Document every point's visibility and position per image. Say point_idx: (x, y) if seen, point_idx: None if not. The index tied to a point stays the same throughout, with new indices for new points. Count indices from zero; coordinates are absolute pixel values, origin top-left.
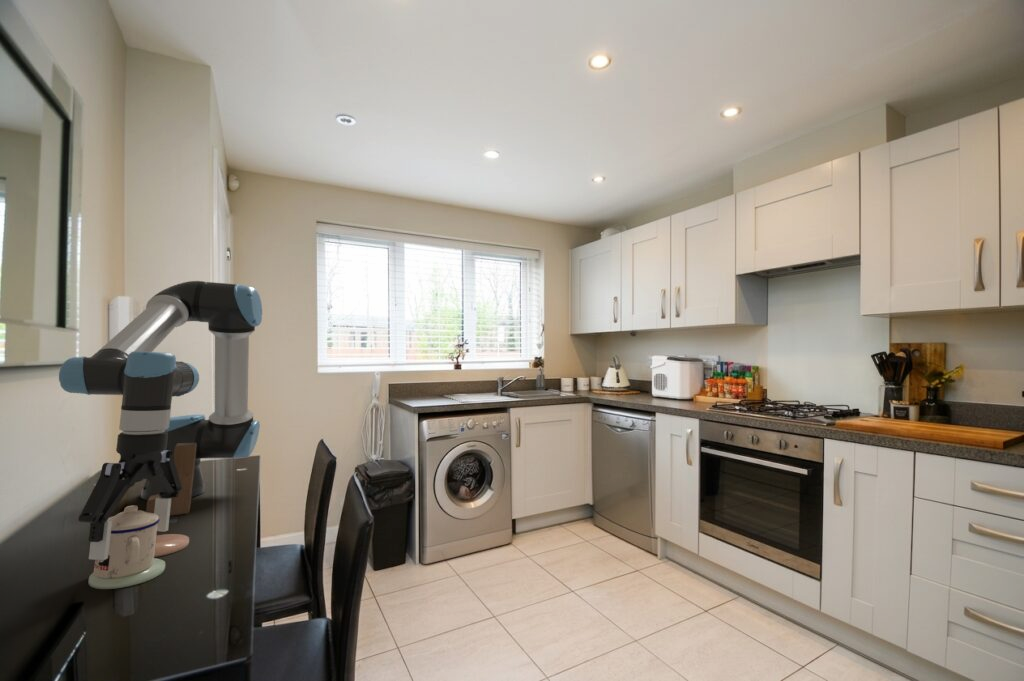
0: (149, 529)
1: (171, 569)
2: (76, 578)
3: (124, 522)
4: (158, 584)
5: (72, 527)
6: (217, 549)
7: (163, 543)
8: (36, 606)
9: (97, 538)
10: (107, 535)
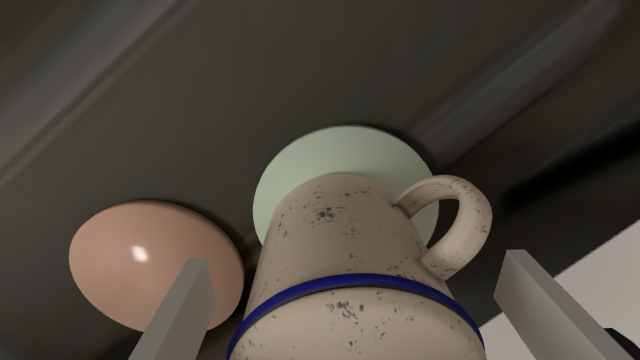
0: (368, 265)
1: (288, 118)
2: None
3: None
4: (400, 73)
5: None
6: (88, 77)
7: (151, 266)
8: None
9: (634, 346)
10: (606, 336)
